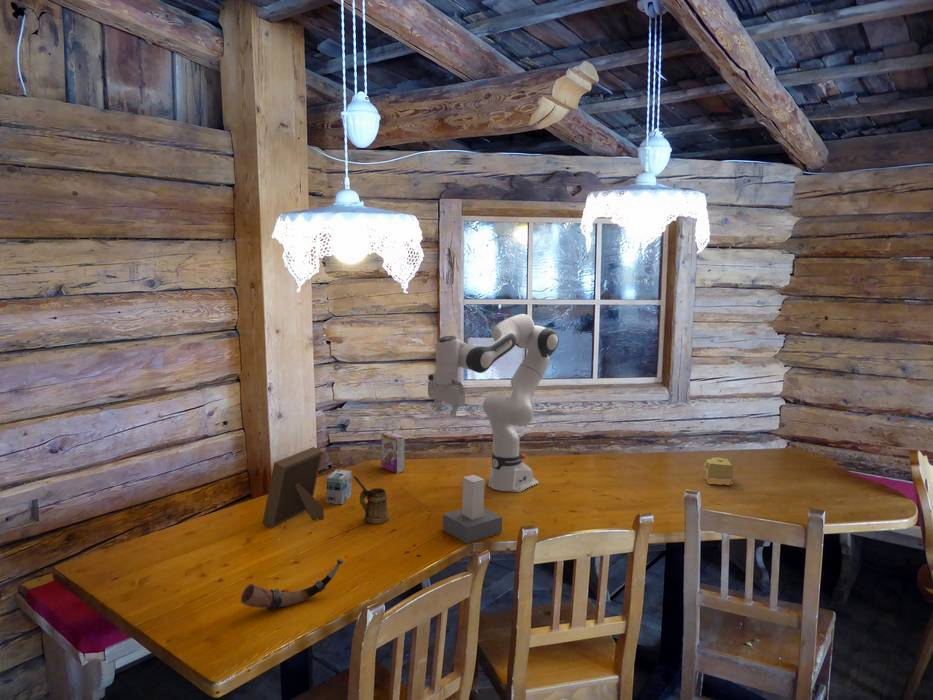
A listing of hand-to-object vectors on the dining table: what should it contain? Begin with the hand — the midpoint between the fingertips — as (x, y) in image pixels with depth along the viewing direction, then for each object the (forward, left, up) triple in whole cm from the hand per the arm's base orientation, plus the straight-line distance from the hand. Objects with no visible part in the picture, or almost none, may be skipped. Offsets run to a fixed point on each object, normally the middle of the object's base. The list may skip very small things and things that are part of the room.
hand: (446, 413), depth 271 cm
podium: (+7, +27, -37) cm, 46 cm away
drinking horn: (+80, +37, -37) cm, 96 cm away
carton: (+7, +27, -31) cm, 42 cm away
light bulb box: (+32, -27, -37) cm, 56 cm away
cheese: (-117, +47, -37) cm, 132 cm away
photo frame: (+54, -17, -37) cm, 68 cm away
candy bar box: (-5, -46, -37) cm, 60 cm away
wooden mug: (+32, -2, -37) cm, 49 cm away
